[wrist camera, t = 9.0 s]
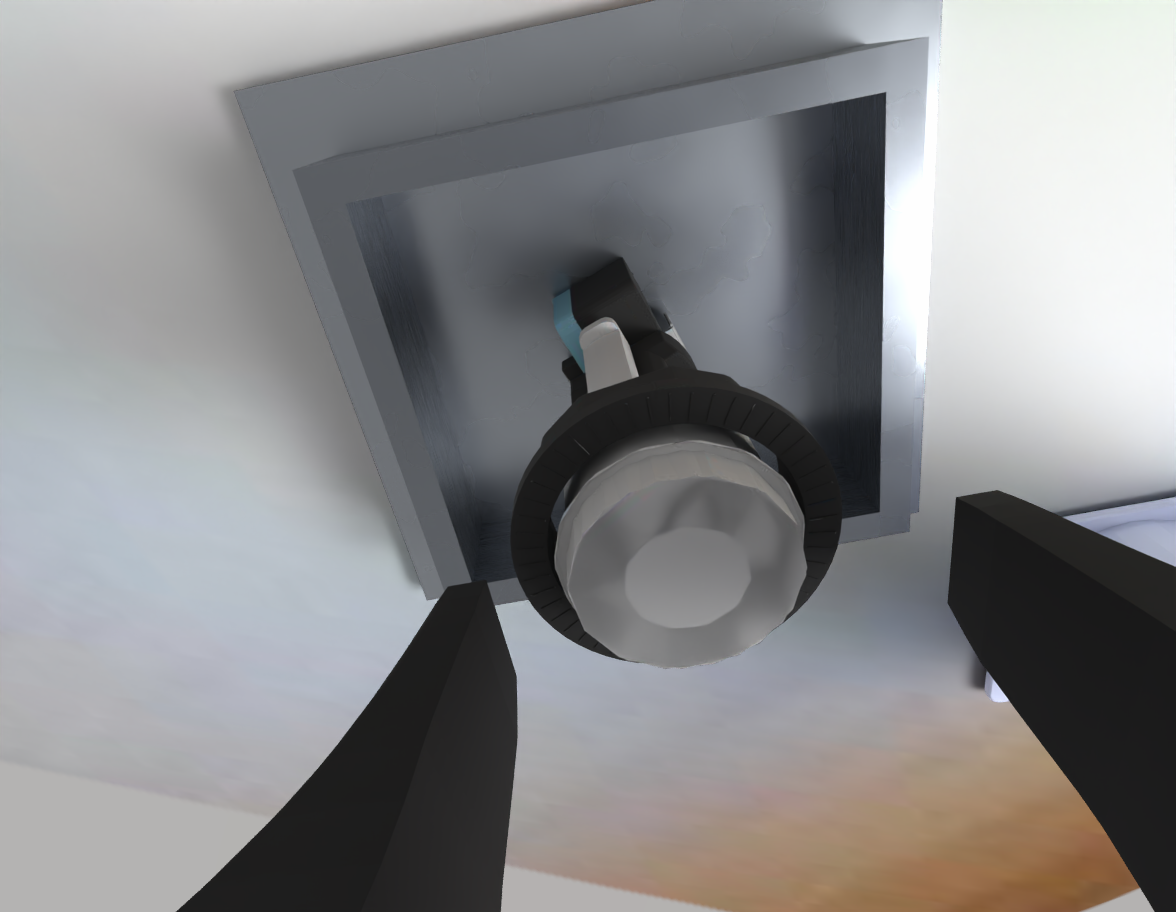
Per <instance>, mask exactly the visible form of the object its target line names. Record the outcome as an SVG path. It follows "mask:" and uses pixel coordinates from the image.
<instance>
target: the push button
mask: <svg viewBox="0 0 1176 912" xmlns="http://www.w3.org/2000/svg"><path fill="white" fill-rule="evenodd" d="M552 303H553V308H554V325H555V327H556V329H557V332H558V333H559V335H560V337H561V338H562V340H563V342H564V343H565V345H566V346H567V348H568V349H569V351H570V352H571V354H572V356H571V357H569V358H567V359H566V360H564V361H562V372H563V373H564V375H565V376H566V378H567V379H568V381H569V382H570V384H571V385H570V387H571V403H572V405H571V406H570V407H569V408H568V409H567V410H566V411H565V413H564V414H563V415H562V416H561V417H560V418H559V419H558V420H557V421H556V422H555V423H554V424H553V426H552V427H551V428H550V429H549V430H548V431H547V432H546V433H545V435H544V436H543V438H542V441H541V447H540V448H539V449H538V451H537V452H536V453H535V455H534V456H533V458H532V459H531V461H530V463H529V465H528V466H527V468H526V470H525V472H524V474H523V476H522V479H521V481H520V483H519V486H518V489H517V492H516V496H515V499H514V504H513V510H512V518H511V532H510V545H511V556H512V560H513V565H514V569H515V572H516V575H517V578H518V580H519V583H520V585H521V587H522V589H523V591H524V593H525V595H526V597H527V598H528V600H529V601H530V603H531V604H532V606H533V607H534V608H535V610H536V611H537V612H538V613H539V614H540V615H541V616H542V618H543V619H544V620H545V621H547V622H548V623H549V624H550V625H551V626H552V627H553V628H554V629H555V630H557V631H558V632H560V633H561V634H562V635H564V636H565V637H566V638H568V639H570V640H571V641H573V642H575V643H577V644H578V645H580V646H582V647H585V648H587V649H589V650H591V651H593V652H596V653H599V654H602V655H605V656H608V657H612V658H615V659H619V660H624V661H630V662H636V663H644V664H648V665H652V666H656V667H660V668H664V669H667V668H679V669H683V668H687V667H692V666H697V665H707V664H715V663H717V662H719V661H722V660H724V659H726V658H729V657H733V656H737V655H739V654H740V653H742V652H743V651H745V650H746V649H748V648H750V647H752V646H754V645H757V644H759V643H760V642H761V641H762V640H763V639H764V638H765V637H766V636H767V635H768V634H769V633H770V632H771V631H773V630H774V629H775V628H777V627H778V626H779V625H781V624H782V623H784V622H785V621H786V620H787V619H788V618H790V617H791V616H792V615H793V614H794V613H795V612H796V611H797V610H798V609H799V608H800V607H801V606H802V605H803V604H804V603H805V602H806V601H807V600H808V599H809V597H810V596H811V595H812V594H813V592H814V591H815V590H816V589H817V587H818V586H819V584H820V582H821V581H822V579H823V578H824V576H825V575H826V573H827V570H828V568H829V566H830V564H831V562H832V560H833V557H834V555H835V552H836V549H837V546H838V542H839V537H840V533H841V524H842V500H841V494H840V488H839V484H838V481H837V477H836V474H835V472H834V470H833V467H832V465H831V463H830V460H829V459H828V457H827V456H826V454H825V452H824V451H823V449H822V447H821V446H820V445H819V443H818V442H817V441H816V439H815V438H814V437H813V435H812V434H811V433H810V432H809V430H808V429H807V428H806V427H805V425H804V424H803V423H802V422H800V421H799V420H798V419H797V418H796V417H795V416H794V415H793V414H792V413H791V412H789V411H788V410H787V409H785V408H784V407H783V406H781V405H780V404H778V403H777V402H775V401H773V400H771V399H770V398H768V397H766V396H764V395H762V394H760V393H757V392H755V391H753V390H750V389H748V388H745V387H742V386H740V385H739V384H738V383H737V382H736V381H734V380H733V379H732V378H731V377H729V376H727V375H724V374H719V373H713V372H707V371H701V370H697V368H696V366H695V364H694V362H693V360H692V358H691V356H690V355H689V353H688V352H687V350H686V348H685V346H684V344H683V342H682V340H681V338H680V336H679V335H678V333H677V331H676V329H675V327H674V326H673V324H672V322H671V320H670V318H669V317H668V315H667V313H666V312H665V313H663V314H664V316H665V318H666V320H667V322H668V324H669V326H670V328H669V329H668V330H666V331H665V332H663V331H662V330H661V328H660V327H659V325H658V323H657V321H656V319H655V317H654V315H653V313H652V311H651V309H650V307H649V305H648V303H647V301H646V299H645V297H644V295H643V293H642V291H641V289H640V287H639V285H638V283H637V281H636V279H635V278H634V276H633V274H632V272H631V270H630V269H629V267H628V265H627V263H626V262H625V260H624V258H623V257H620V258H619V259H617V260H615V261H614V262H612V263H611V264H609V265H607V266H606V267H604V268H602V269H601V270H599V271H597V272H596V273H594V274H593V275H591V276H589V277H588V278H586V279H584V280H583V281H581V282H579V283H578V284H576V285H574V286H573V287H571V288H570V289H568V290H567V291H565V292H564V293H562V294H560V295H559V296H557V297H555V298H554V299H552ZM749 437H750V438H752V439H753V440H755V441H757V442H759V443H761V444H762V445H764V446H765V447H766V448H768V449H769V450H770V451H772V452H773V453H774V454H775V455H776V458H777V462H778V471H779V473H777V472H776V471H775V470H773V469H772V468H771V467H769V466H768V465H767V464H765V463H764V462H763V461H762V460H761V458H760V456H759V455H758V453H757V451H756V449H755V448H754V446H753V444H752V442H751V440H750V439H749ZM563 488H564V504H565V512H564V514H563V516H562V519H561V521H560V524H559V528H558V533H557V531H556V529H555V527H554V524H553V522H552V519H551V514H552V511H553V508H554V505H555V503H556V501H557V499H558V497H559V495H560V493H561V491H562V490H563Z"/></svg>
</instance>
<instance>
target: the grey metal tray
mask: <svg viewBox="0 0 1176 912" xmlns="http://www.w3.org/2000/svg"><path fill="white" fill-rule="evenodd" d="M942 2H943V0H655V1H650V2H645V3H641V4H636V5H632V6H627V7H622V8H618V9H613V10H608V11H604V12H599V13H594V14H590V15H585V16H580V17H576V18H571V19H567V20H562V21H557V22H553V23H548V24H543V25H539V26H534V27H529V28H525V29H520V30H516V31H511V32H506V33H502V34H497V35H492V36H488V37H483V38H478V39H474V40H469V41H465V42H460V43H455V44H451V45H446V46H441V47H437V48H432V49H427V50H423V51H418V52H414V53H409V54H404V55H400V56H395V57H390V58H386V59H381V60H376V61H372V62H367V63H363V64H358V65H353V66H349V67H344V68H339V69H335V70H330V71H325V72H321V73H316V74H311V75H307V76H302V77H298V78H293V79H288V80H284V81H279V82H274V83H270V84H265V85H260V86H256V87H251V88H247V89H242V90H237V91H234V93H235V95H236V98H237V101H238V103H239V106H240V108H241V111H242V114H243V116H244V119H245V122H246V124H247V127H248V130H249V132H250V135H251V137H252V140H253V143H254V145H255V148H256V151H257V153H258V156H259V159H260V161H261V164H262V166H263V169H264V172H265V174H266V177H267V180H268V182H269V185H270V188H271V190H272V193H273V195H274V198H275V201H276V203H277V206H278V209H279V211H280V214H281V217H282V219H283V222H284V224H285V227H286V230H287V232H288V235H289V238H290V240H291V243H292V246H293V248H294V251H295V253H296V256H297V259H298V261H299V264H300V267H301V269H302V272H303V275H304V277H305V280H306V282H307V285H308V288H309V290H310V293H311V296H312V298H313V301H314V304H315V306H316V309H317V312H318V314H319V317H320V319H321V322H322V325H323V327H324V330H325V333H326V335H327V338H328V341H329V343H330V346H331V348H332V351H333V354H334V356H335V359H336V362H337V364H338V367H339V370H340V372H341V375H342V377H343V380H344V383H345V385H346V388H347V391H348V393H349V396H350V399H351V401H352V404H353V406H354V409H355V412H356V414H357V417H358V420H359V422H360V425H361V428H362V430H363V433H364V435H365V438H366V441H367V443H368V446H369V449H370V451H371V454H372V457H373V459H374V462H375V464H376V467H377V470H378V472H379V475H380V478H381V480H382V483H383V486H384V488H385V491H386V493H387V496H388V499H389V501H390V504H391V507H392V509H393V512H394V515H395V517H396V520H397V522H398V525H399V528H400V530H401V533H402V536H403V538H404V541H405V544H406V546H407V549H408V552H409V554H410V557H411V559H412V562H413V565H414V567H415V570H416V573H417V575H418V578H419V581H420V583H421V586H422V588H423V591H424V594H425V596H426V599H427V600H432V599H437V598H440V597H441V595H442V594H443V593H444V591H445V590H446V588H447V587H448V586H453V585H459V584H465V583H470V582H476V581H482V580H486V581H487V584H488V587H489V590H490V593H491V597H492V600H493V603H494V606H495V605H500V604H506V603H512V602H517V601H523V600H528V598H527V597H526V595H525V593H524V591H523V589H522V587H521V585H520V583H519V580H518V578H517V575H516V572H515V569H514V565H513V560H512V556H511V545H510V532H511V518H512V510H513V504H514V499H515V496H516V492H517V489H518V486H519V483H520V481H521V479H522V476H523V474H524V472H525V470H526V468H527V466H528V465H529V463H530V461H531V459H532V458H533V456H534V455H535V453H536V452H537V451H538V449H539V448H540V447H541V441H542V438H543V436H544V435H545V433H546V432H547V431H548V430H549V429H550V428H551V427H552V426H553V424H554V423H555V422H556V421H557V420H558V419H559V418H560V417H561V416H562V415H563V414H564V413H565V411H566V410H567V409H568V408H569V407H570V406H571V405H572V403H571V387H570V385H571V384H570V382H569V381H568V379H567V378H566V376H565V375H564V373H563V372H562V361H564V360H566V359H567V358H569V357H571V356H572V354H571V352H570V351H569V349H568V348H567V346H566V345H565V343H564V342H563V340H562V338H561V337H560V335H559V333H558V332H557V329H556V327H555V325H554V308H553V303H552V299H554V298H555V297H557V296H559V295H560V294H562V293H564V292H565V291H567V290H568V289H570V288H571V287H573V286H574V285H576V284H578V283H579V282H581V281H583V280H584V279H586V278H588V277H589V276H591V275H593V274H594V273H596V272H597V271H599V270H601V269H602V268H604V267H606V266H607V265H609V264H611V263H612V262H614V261H615V260H617V259H619V258H620V257H623V258H624V260H625V262H626V263H627V265H628V267H629V269H630V270H631V272H632V274H633V276H634V278H635V279H636V281H637V283H638V285H639V287H640V289H641V291H642V293H643V295H644V297H645V299H646V301H647V303H648V305H649V307H650V309H651V311H652V313H653V315H654V317H655V319H656V321H657V323H658V325H659V327H660V328H661V330H662V331H663V332H665V331H666V330H668V329H669V328H670V326H669V324H668V322H667V320H666V318H665V316H664V314H663V313H665V312H666V313H667V315H668V317H669V318H670V320H671V322H672V324H673V326H674V327H675V329H676V331H677V333H678V335H679V336H680V338H681V340H682V342H683V344H684V346H685V348H686V350H687V352H688V353H689V355H690V356H691V358H692V360H693V362H694V364H695V366H696V368H697V370H701V371H707V372H713V373H719V374H724V375H727V376H729V377H731V378H732V379H733V380H734V381H736V382H737V383H738V384H739V385H740V386H742V387H745V388H748V389H750V390H753V391H755V392H757V393H760V394H762V395H764V396H766V397H768V398H770V399H771V400H773V401H775V402H777V403H778V404H780V405H781V406H783V407H784V408H785V409H787V410H788V411H789V412H791V413H792V414H793V415H794V416H795V417H796V418H797V419H798V420H799V421H800V422H802V423H803V424H804V425H805V427H806V428H807V429H808V430H809V432H810V433H811V434H812V435H813V437H814V438H815V439H816V441H817V442H818V443H819V445H820V446H821V447H822V449H823V451H824V452H825V454H826V456H827V457H828V459H829V460H830V463H831V465H832V467H833V470H834V472H835V474H836V477H837V481H838V484H839V488H840V494H841V500H842V524H841V533H840V537H839V542H838V544H842V543H848V542H853V541H859V540H864V539H870V538H876V537H881V536H887V535H892V534H898V533H904V532H909V528H910V513H916V512H919V494H920V472H921V451H922V430H923V408H924V387H925V365H926V344H927V323H928V301H929V280H930V259H931V237H932V216H933V194H934V173H935V152H936V130H937V109H938V88H939V66H940V45H941V23H942ZM749 439H750V440H751V442H752V444H753V446H754V448H755V449H756V451H757V453H758V455H759V456H760V458H761V460H762V461H763V462H764V463H765V464H767V465H768V466H769V467H771V468H772V469H773V470H775V471H776V472H777V473H779V471H778V462H777V458H776V455H775V454H774V453H773V452H772V451H770V450H769V449H768V448H766V447H765V446H764V445H762V444H761V443H759V442H757V441H755V440H753V439H752V438H750V437H749ZM564 512H565V504H564V488H563V490H562V491H561V493H560V495H559V497H558V499H557V501H556V503H555V505H554V508H553V511H552V514H551V519H552V522H553V524H554V527H555V529H556V531H557V533H558V528H559V524H560V521H561V519H562V516H563V514H564Z"/></svg>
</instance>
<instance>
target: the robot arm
mask: <svg viewBox="0 0 1176 912" xmlns="http://www.w3.org/2000/svg"><path fill="white" fill-rule="evenodd" d="M948 604H949V606H950V608H951V610H952V612H953V614H954V616H955V617H956V619H957V621H958V623H959V625H960V627H961V629H962V630H963V632H964V634H965V636H966V638H967V639H968V641H969V643H970V644H971V646H972V648H973V650H974V651H975V653H976V655H977V656H978V658H979V660H980V662H981V663H982V664H983V666H984V667H985V668H986V670H987V672H986V681H985V693H986V694H987V696H988V697H989V698H990V699H991V700H992V701H994V702H1006V701H1010V702H1011V704H1012V705H1013V706H1014V708H1015V709H1016V710H1017V712H1018V713H1019V714H1020V716H1021V717H1022V718H1023V720H1024V721H1025V722H1026V724H1027V725H1028V726H1029V728H1030V729H1031V730H1032V732H1033V733H1034V734H1035V736H1036V737H1037V738H1038V740H1039V741H1040V742H1041V744H1042V745H1043V746H1044V748H1045V749H1046V750H1047V752H1048V753H1049V754H1050V756H1051V757H1052V758H1053V760H1054V761H1055V762H1056V764H1057V765H1058V766H1059V768H1060V769H1061V770H1062V771H1063V773H1064V774H1065V775H1066V777H1067V778H1068V779H1069V781H1070V782H1071V783H1072V785H1073V786H1074V787H1075V789H1076V790H1077V791H1078V793H1079V794H1080V795H1081V797H1082V798H1083V800H1084V801H1085V803H1086V804H1087V805H1088V807H1089V808H1090V810H1091V811H1092V813H1093V814H1094V815H1095V817H1096V818H1097V820H1098V821H1099V823H1100V824H1101V826H1102V827H1103V828H1104V830H1105V832H1106V833H1107V835H1108V836H1109V838H1110V840H1111V841H1112V843H1113V845H1114V846H1115V848H1116V849H1117V851H1118V853H1119V854H1120V856H1121V858H1122V859H1123V861H1124V862H1125V864H1126V866H1127V867H1128V869H1129V870H1130V872H1131V874H1132V875H1133V877H1134V879H1135V880H1136V882H1137V883H1138V885H1139V887H1140V888H1141V890H1142V892H1143V893H1144V895H1145V896H1146V898H1147V900H1148V901H1149V903H1150V905H1151V906H1152V908H1153V910H1154V911H1155V912H1176V497H1172V498H1166V499H1161V500H1155V501H1150V502H1144V503H1138V504H1133V505H1127V506H1121V507H1116V508H1110V509H1105V510H1099V511H1093V512H1088V513H1082V514H1076V515H1071V516H1065V517H1061V516H1058V515H1056V514H1054V513H1052V512H1049V511H1047V510H1045V509H1043V508H1040V507H1038V506H1036V505H1033V504H1031V503H1029V502H1026V501H1024V500H1022V499H1019V498H1017V497H1014V496H1012V495H1009V494H1006V493H1004V492H1001V491H998V490H996V491H990V492H984V493H978V494H973V495H967V496H961V497H956V505H955V518H954V530H953V543H952V555H951V568H950V580H949V593H948ZM517 738H518V735H517V679H516V673H515V670H514V666H513V663H512V660H511V657H510V654H509V650H508V647H507V644H506V641H505V638H504V635H503V631H502V628H501V625H500V622H499V619H498V616H497V612H496V609H495V606H494V603H493V600H492V597H491V593H490V590H489V587H488V584H487V581H486V580H482V581H476V582H470V583H465V584H459V585H453V586H448V587H447V588H446V590H445V591H444V593H443V594H442V595H441V597H440V598H439V600H438V601H437V603H436V604H435V606H434V608H433V609H432V611H431V612H430V614H429V615H428V617H427V618H426V620H425V622H424V623H423V625H422V626H421V628H420V629H419V631H418V632H417V634H416V635H415V637H414V638H413V640H412V642H411V643H410V645H409V646H408V648H407V649H406V651H405V652H404V654H403V655H402V657H401V658H400V660H399V661H398V662H397V664H396V665H395V667H394V668H393V670H392V671H391V673H390V674H389V676H388V677H387V678H386V680H385V681H384V683H383V684H382V686H381V687H380V689H379V690H378V691H377V693H376V694H375V696H374V697H373V698H372V700H371V701H370V703H369V704H368V705H367V706H366V708H365V709H364V710H363V712H362V713H361V714H360V716H359V717H358V718H357V720H356V721H355V722H354V724H353V725H352V726H351V728H350V729H349V730H348V731H347V733H346V734H345V735H344V737H343V738H342V739H341V741H340V742H339V743H338V745H337V746H336V747H335V748H334V750H333V751H332V752H331V753H330V754H329V756H328V757H327V758H326V759H325V761H324V762H323V763H322V764H321V765H320V767H319V768H318V769H317V770H316V771H315V772H314V774H313V775H312V776H311V777H310V778H309V779H308V780H307V781H306V783H305V784H304V785H303V786H302V787H301V788H300V789H299V790H298V791H297V793H296V794H295V795H294V796H293V797H292V798H291V799H290V800H289V801H288V803H287V804H286V805H285V806H284V807H283V808H282V809H281V810H280V811H279V812H278V813H277V814H276V816H275V817H274V818H273V819H272V820H271V821H270V822H269V823H268V824H267V825H266V826H265V827H264V828H263V829H262V830H261V831H260V832H259V833H258V834H257V835H256V836H255V837H254V838H253V839H252V840H251V841H250V842H249V843H248V844H247V845H246V846H245V847H244V848H243V849H242V850H241V851H240V852H239V853H238V854H237V855H235V856H234V857H233V858H232V859H231V860H230V861H229V862H228V864H226V865H225V866H224V868H223V869H221V870H220V871H219V872H218V873H217V874H216V876H214V877H213V878H212V879H211V880H210V881H209V882H208V883H207V884H206V885H205V886H204V887H203V888H202V889H201V890H200V891H198V892H197V893H196V894H195V895H194V896H193V897H192V898H191V899H190V900H188V901H187V902H186V903H185V904H184V905H183V906H182V907H181V908H180V909H179V910H177V911H176V912H501V899H502V885H503V874H504V866H505V856H506V847H507V837H508V828H509V818H510V808H511V799H512V789H513V779H514V769H515V759H516V749H517Z"/></svg>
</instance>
